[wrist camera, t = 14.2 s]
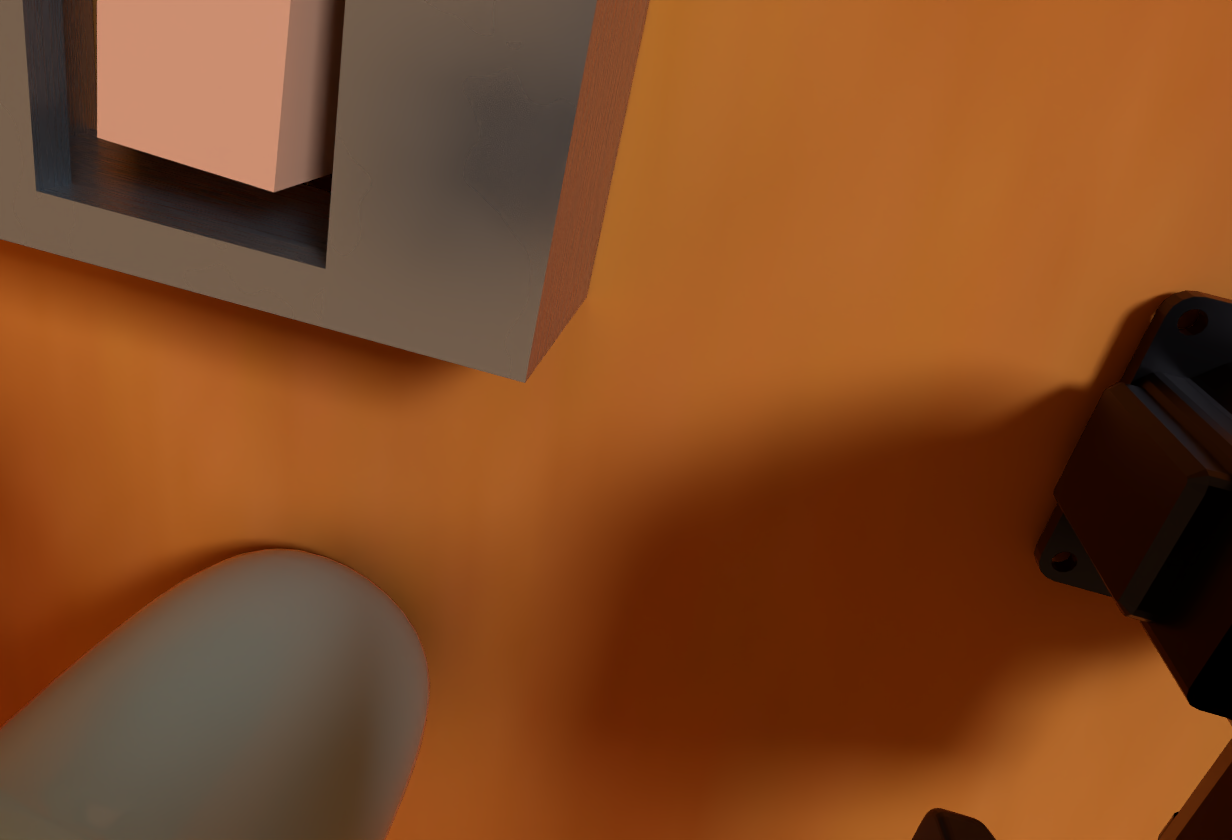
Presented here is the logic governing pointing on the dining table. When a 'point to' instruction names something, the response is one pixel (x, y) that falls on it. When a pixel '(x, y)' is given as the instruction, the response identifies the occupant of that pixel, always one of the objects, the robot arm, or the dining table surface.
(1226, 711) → the robot arm
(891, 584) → the dining table surface
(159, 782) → the cup
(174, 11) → the pink rectangular block
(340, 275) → the box
